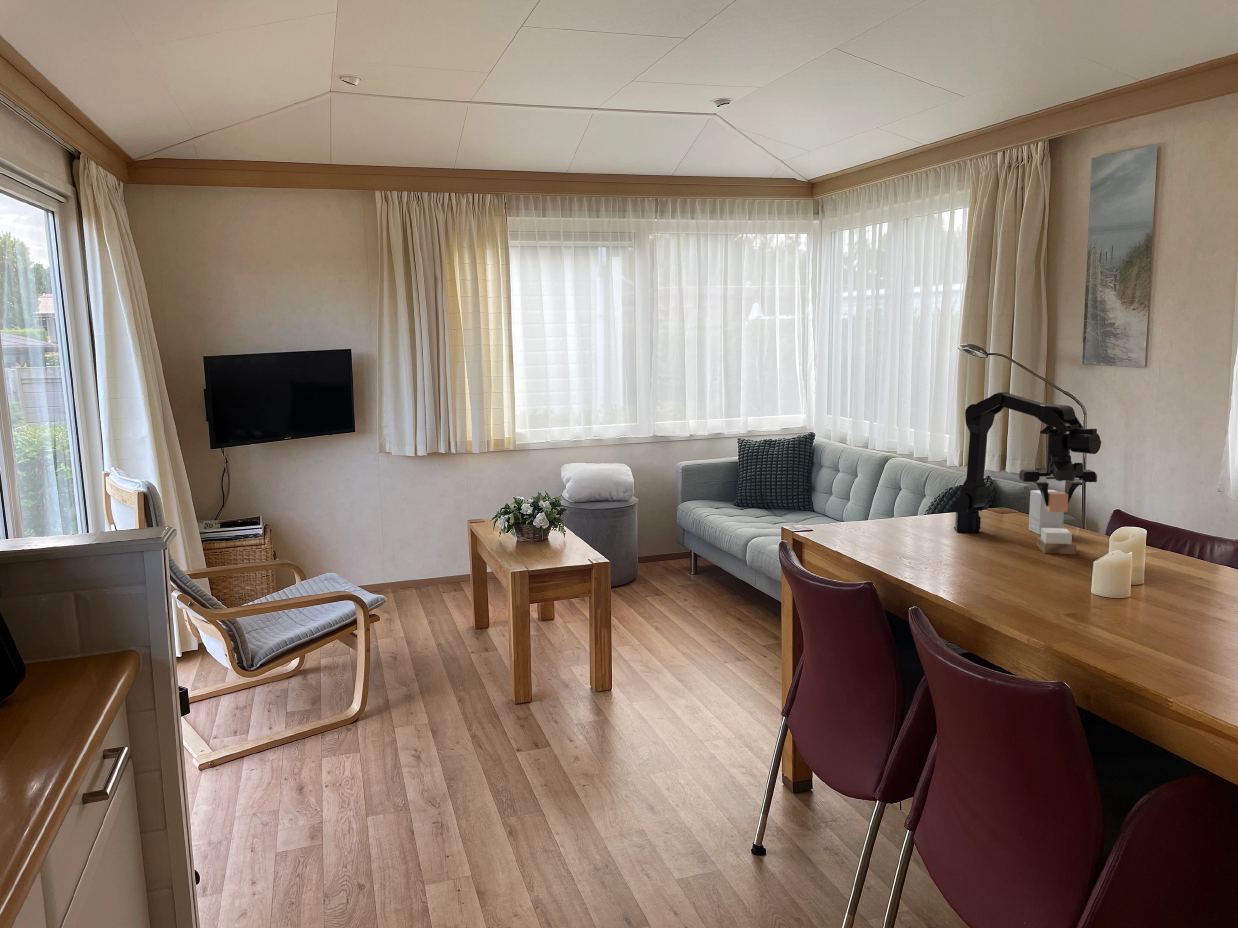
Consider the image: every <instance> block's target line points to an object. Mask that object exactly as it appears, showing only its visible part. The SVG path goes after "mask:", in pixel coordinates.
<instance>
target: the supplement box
mask: <svg viewBox="0 0 1238 928" xmlns="http://www.w3.org/2000/svg"><path fill="white" fill-rule="evenodd" d="M1029 491H1030V494H1029V516H1028V531H1031V532H1033V533H1034V534H1037V535H1040V536H1041V528H1062V529H1064V517H1065V515H1064V513H1065V512H1049V511H1047V510H1046V509H1045V503H1044V500H1043V497H1042V495H1041V492H1040V490H1039V489H1038V490H1037V489H1035V490H1032V489H1031V490H1029ZM1048 491H1052V492H1059V491H1058V490H1054V489H1048Z"/></svg>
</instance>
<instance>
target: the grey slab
mask: <svg viewBox="0 0 1238 928" xmlns="http://www.w3.org/2000/svg"><path fill="white" fill-rule="evenodd" d="M1040 538H1041V539H1042V540H1043V541H1044V542H1045V543H1049V544H1071V542H1073V541H1072V540H1073V539H1072V538H1073V534H1072V532H1071V531H1070V530H1068V529H1067V528H1063V529H1062V528H1041V535H1040Z"/></svg>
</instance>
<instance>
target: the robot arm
mask: <svg viewBox="0 0 1238 928" xmlns="http://www.w3.org/2000/svg"><path fill="white" fill-rule="evenodd" d="M1004 409H1009V410H1011V411H1016V412H1017V413H1018V412H1019V413H1022V414H1025V415H1029V416H1032V417H1034V418H1036V419H1037V420H1038V421H1040V422H1041V423H1042V424H1045V427H1044V428H1043V429H1041V430H1040V431H1039V434H1040V435H1047V445H1046V453H1045V457H1046V465H1045V470H1044V471H1045V472H1043V471H1041V472H1040V471H1038V470H1037V469H1021V470H1020V471H1019V473H1018V479H1019V480H1020V481H1022V482H1024V483H1034V484H1035V485H1036V486H1037V488H1038V490H1040V492H1041V495H1042V497H1043V500H1044V503H1045V506H1048V490H1049V484H1050V483H1049V482H1047V480H1055V481H1057V482H1065V484H1064V492H1065V493H1067V494H1068V504H1069V503H1070V501H1071V499H1072V496H1073V494H1074V493H1075V491H1076V489H1078V487H1079V486H1083V485H1084V483H1097V482H1098V475H1097V472H1096V471H1094V470H1091V469H1084V464H1083V462H1074V463H1073V462H1072V456H1071V452H1072V453H1078V454H1087V455H1088V454H1089V455H1096V454H1097V453H1099V451H1100V449H1101V446H1102V440H1101V437H1100V435H1099V433H1098V429H1097V428H1084V426H1083V425H1082V424H1081V422H1080V420H1079V418H1078V417H1077V415H1076V412H1075V410H1074V408H1073V407H1072V406H1071V405H1066V404H1055V403H1054V404H1053V403H1044V402H1040V401H1036V400H1033V399H1030V398H1026V397H1023V396H1019V395H1015V394H1012V393H1010V392H1007V391H997V392H995V393H993V394H992V395H991V396H988V397H987V398H985V399H982V400H980V401H979V402H977V403H973V404H970V405H968V407H966V408H965V411H964V419H965V426H966V427H967V430H968V431H969V438H968V439H969V442H968V452H967V453H968V454H967V455H968V457H967V464H966V465H967V467H966V477H965V481H964V482H963V483H962V485H961V487H960V489H959V495H958V498H957V499H956V500H954V501H953V502H952V503H951V505H950V508H951V512H952V513H955V519H954V520H955V522H954V526H953V529H954V530H955V532H957V533H967V534H970V533H971V534H973V533H975V534H980V530H981V520H982V519H981V516H980V512H983V511H984V507H985V505H987V504H988V502H989V500H990V499H991V494H990V492H991V490H992V488H991V487H992V486H991V485H987V484H986V482H985V470H986V469H985V467H986V455H987V444H988V441H987V440H988V433H989V432H990V430H991V428H992V426H993V424H994V421H995V416H996V415H997V414H999V413H1000V412H1002V411H1003V410H1004ZM1082 481H1083V482H1084V483H1083V482H1082Z"/></svg>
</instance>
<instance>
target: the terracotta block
mask: <svg viewBox="0 0 1238 928" xmlns="http://www.w3.org/2000/svg"><path fill="white" fill-rule="evenodd" d="M1068 507H1069V503H1068V494H1067V493H1065V491H1058V492H1052V491H1048V506H1045V509H1046V510H1047V511H1049V512H1064V513H1068V509H1069V508H1068Z"/></svg>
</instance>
